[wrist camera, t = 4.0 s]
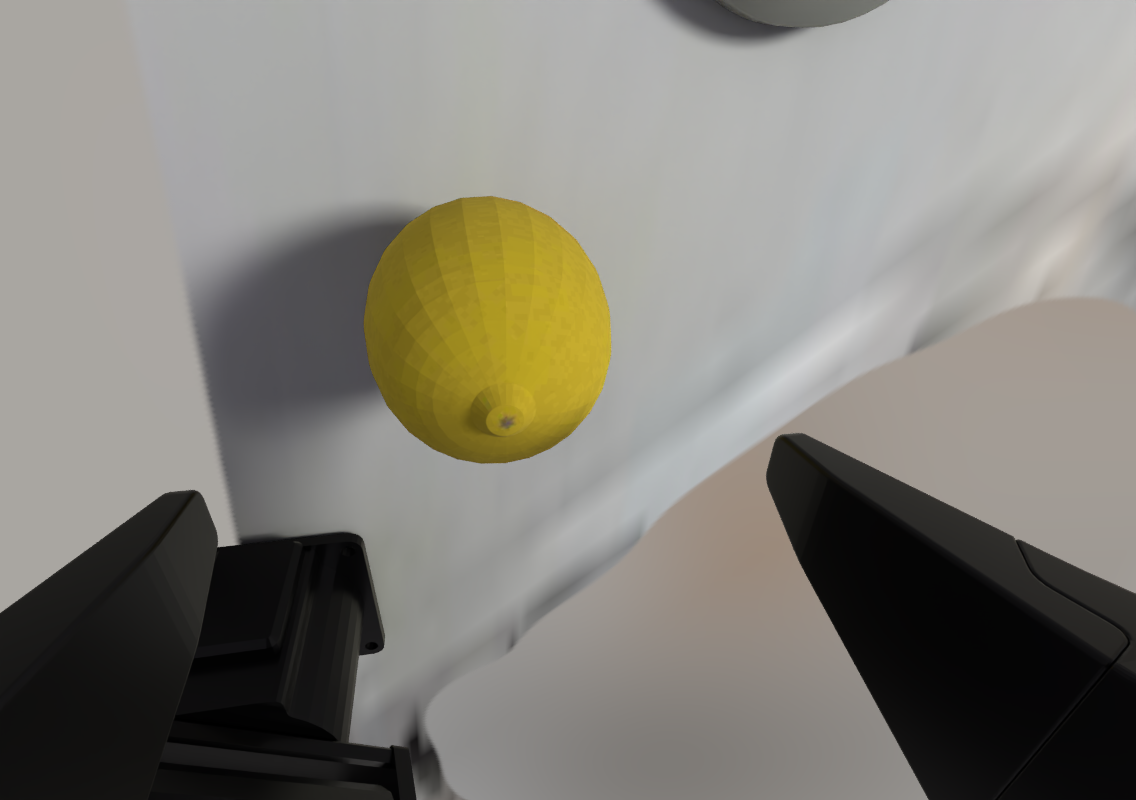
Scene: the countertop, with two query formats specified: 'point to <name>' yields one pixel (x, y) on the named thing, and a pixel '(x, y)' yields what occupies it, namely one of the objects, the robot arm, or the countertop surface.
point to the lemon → (487, 330)
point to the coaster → (800, 11)
